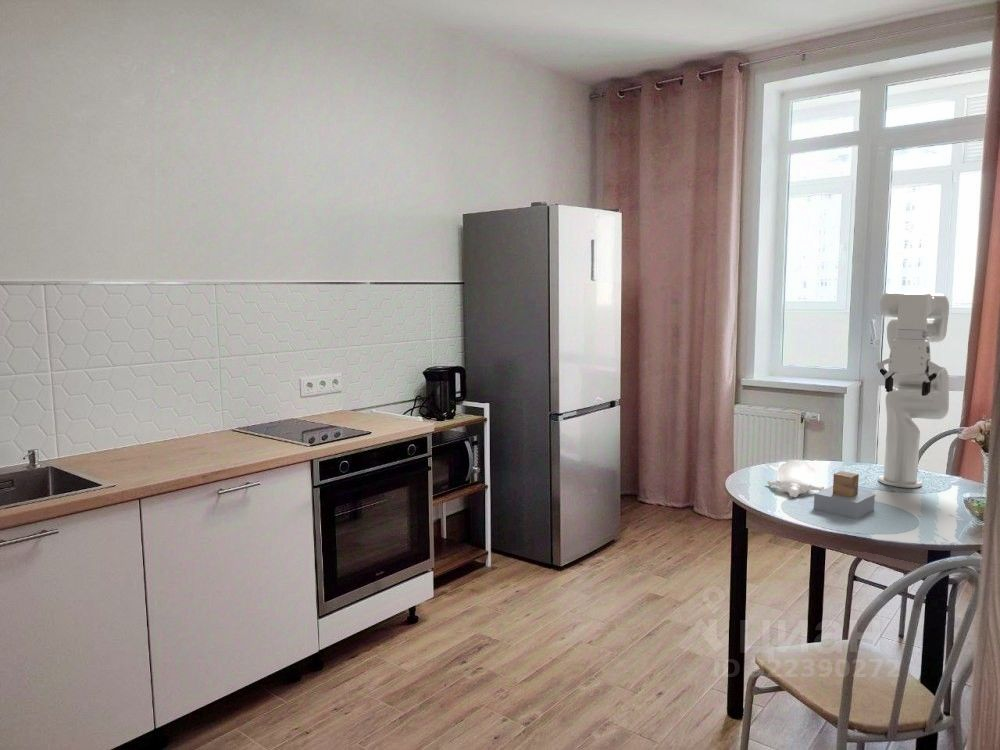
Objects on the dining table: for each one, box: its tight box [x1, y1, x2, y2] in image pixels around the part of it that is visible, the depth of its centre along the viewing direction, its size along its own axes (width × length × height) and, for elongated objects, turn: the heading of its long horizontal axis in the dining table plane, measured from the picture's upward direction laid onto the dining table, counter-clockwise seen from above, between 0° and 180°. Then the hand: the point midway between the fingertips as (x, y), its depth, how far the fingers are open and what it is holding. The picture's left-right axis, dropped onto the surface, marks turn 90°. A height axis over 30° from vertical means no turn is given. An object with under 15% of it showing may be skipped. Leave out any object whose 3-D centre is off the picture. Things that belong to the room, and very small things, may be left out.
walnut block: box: [832, 470, 860, 498], centre depth 202 cm, size 5×5×6 cm
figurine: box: [766, 459, 825, 498], centre depth 224 cm, size 17×9×25 cm
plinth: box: [813, 485, 876, 520], centre depth 203 cm, size 12×12×5 cm
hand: (906, 393), depth 205 cm, fingers open, 9 cm apart
